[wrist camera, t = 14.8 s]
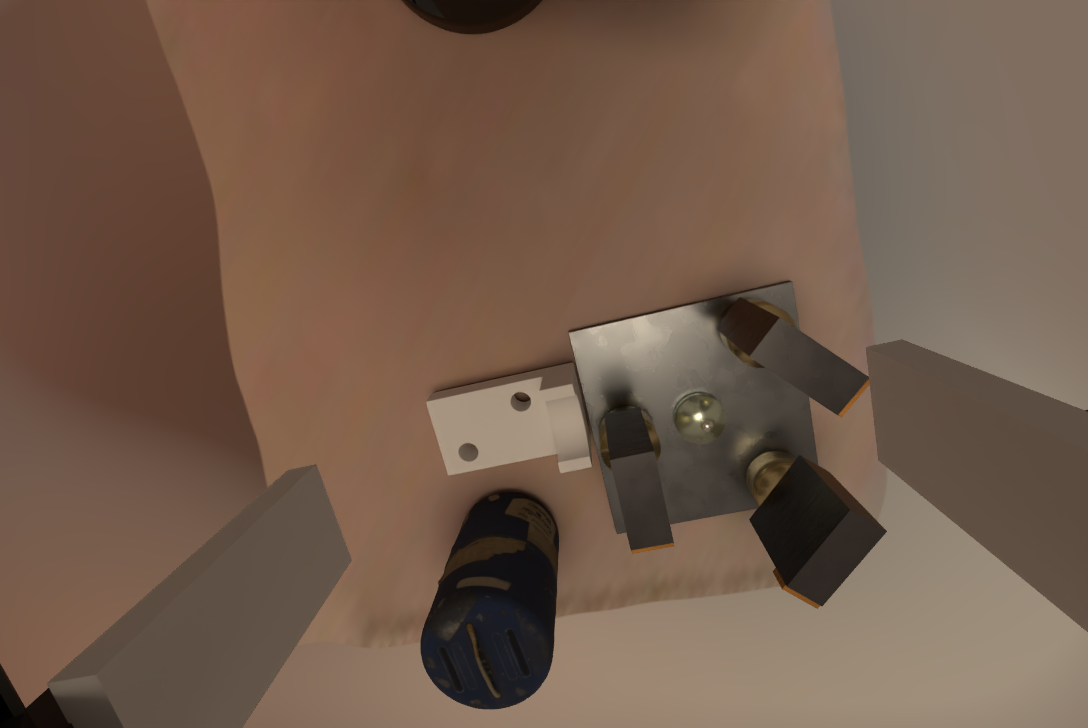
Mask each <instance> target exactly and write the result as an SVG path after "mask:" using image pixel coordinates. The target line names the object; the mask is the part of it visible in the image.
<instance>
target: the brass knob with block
mask: <svg viewBox="0 0 1088 728" xmlns="http://www.w3.org/2000/svg"><path fill="white" fill-rule="evenodd" d="M746 484H747V487H748V489H749V490H750V492H751V494H752V495H753V497H754V498H755V500H756V502H757V503H758V505H759V508H758V509H757V510H756V512H755V513H754V514H753V515H752V517H751V518H750V519H749V520H750V522H751V524H752V525H753V527H754V529H755V531H756V533H757V534H758V536H759V538H760V540H761V542H762V543H763V545H764V547H765V549H766V551H767V552H768V554H769V556H770V558H771V560H772V561H773V563H774V565H775V567H776V568H775V570H774V571H773V573H774V575H775V577H776V579H777V580H778V582H779V584H780V586H781V588H782V589H783V590H785V591H787V592H789V593H790V594H792V595H794V596H796V597H797V598H799V599H801V600H803V601H805V602H806V603H808V604H810V605H812V606H814V607H815V608H818V607H819V606H823V605H824V604H825V603H826V601H827V600H828V599H829V598H830V597H831V596H832V594H833V593H834V592H835V591H836V590H837V589H838V588H839V586H840V585H841V584H842V583H843V582H844V581H845V579H846V578H847V577H848V576H849V575H850V574H851V572H852V571H853V570H854V569H855V568H856V566H857V565H858V564H859V563H860V562H861V561H862V560H863V559H864V557H865V556H866V555H867V554H868V553H869V552H870V550H871V549H872V548H873V547H874V546H875V545H876V543H877V542H878V541H879V540H880V539H881V538H882V537H883V535H884V534H885V533H886V532H887V531H886V530H885V529H884V528H883V527H882V526H881V525H880V524H879V523H878V522H877V521H876V520H875V518H874V517H873V516H872V515H871V514H870V513H869V512H868V511H867V510H866V509H865V508H864V507H863V506H862V505H861V504H860V503H859V502H858V501H857V500H856V499H855V498H854V497H853V496H852V495H851V494H850V493H849V492H848V491H847V490H846V489H845V488H844V487H843V486H842V485H841V483H840V482H839V481H838V480H837V479H836V478H835V477H834V476H833V475H832V474H831V473H830V472H828V471H827V470H825V469H823V468H821V467H820V466H818V465H816V464H815V463H813V462H811V461H809V460H808V459H806V458H804V457H803V456H801V455H799V456H798V457H797V459H796V458H795V457H794V456H792V455H791V454H789V453H786V452H782V451H770V452H766V453H764V454H762V455H760V456H758V457H757V458H755V459H754V460H753V461H752V463H751V464H750V465H749V467H748V469H747V472H746Z"/></svg>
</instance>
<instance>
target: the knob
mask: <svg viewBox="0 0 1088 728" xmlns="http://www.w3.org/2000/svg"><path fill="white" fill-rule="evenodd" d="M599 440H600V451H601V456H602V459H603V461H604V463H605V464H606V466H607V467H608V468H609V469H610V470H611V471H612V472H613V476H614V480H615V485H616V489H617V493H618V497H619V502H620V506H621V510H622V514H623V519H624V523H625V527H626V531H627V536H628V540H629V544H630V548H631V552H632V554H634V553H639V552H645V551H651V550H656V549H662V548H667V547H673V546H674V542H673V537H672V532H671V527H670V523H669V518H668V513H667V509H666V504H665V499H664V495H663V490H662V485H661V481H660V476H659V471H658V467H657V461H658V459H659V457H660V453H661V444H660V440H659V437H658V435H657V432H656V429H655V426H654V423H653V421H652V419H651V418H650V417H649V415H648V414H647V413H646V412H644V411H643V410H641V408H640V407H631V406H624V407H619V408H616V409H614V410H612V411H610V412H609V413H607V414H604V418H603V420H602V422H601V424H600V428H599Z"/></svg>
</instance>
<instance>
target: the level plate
mask: <svg viewBox="0 0 1088 728" xmlns="http://www.w3.org/2000/svg"><path fill="white" fill-rule="evenodd" d="M739 297H741V298H743V299H750V298H755V299H761V300H764V301H766V302H768V303H770V304H773V305H775V306H777V307H779V308H781V309H783V310H785V311H786V312H787V313H788V314H789V315H790V316H791V317H792V319H793V320H794V322H795V325H796V328H797V329H798V330H799V324H798V317H797V310H796V303H795V296H794V289H793V282H792V281H785V282H781V283H776V284H772V285H768V286H763V287H759V288H755V289H750V290H746V291H742V292H737V293H733V294H729V295H724V296H720V297H715V298H711V299H707V300H702V301H698V302H694V303H689V304H685V305H681V306H676V307H672V308H668V309H663V310H659V311H654V312H650V313H646V314H641V315H637V316H633V317H628V318H624V319H620V320H615V321H611V322H607V323H602V324H598V325H593V326H589V327H585V328H580V329H576V330H572V331H569V336H570V340H571V344H572V348H573V352H574V357H575V361H576V365H577V369H578V373H579V377H580V382H581V386H582V390H583V394H584V398H585V402H586V407H587V411H588V415H589V419H590V423H591V428H592V432H593V436H594V440H595V444H596V448H597V453H598V457H599V461H600V465H601V469H602V473H603V478H604V482H605V486H606V490H607V494H608V498H609V503H610V507H611V511H612V515H613V519H614V524H615V528H616V532H617V534H621V533H626V532H627V531H626V527H625V523H624V519H623V514H622V510H621V506H620V502H619V497H618V493H617V489H616V485H615V480H614V476H613V472H612V471H611V470H610V469H609V468H608V467H607V466H606V464H605V463H604V461H603V459H602V456H601V451H600V440H599V428H600V424H601V422H602V420H603V418H604V414H607V413H609V412H610V411H612V410H614V409H616V408H619V407H624V406H631V407H640V408H641V410H643V411H644V412H646V413H647V414H648V415H649V417H650V418H651V419H652V421H653V423H654V426H655V429H656V432H657V435H658V437H659V440H660V444H661V453H660V457H659V459H658V461H657V467H658V471H659V476H660V481H661V485H662V490H663V495H664V499H665V504H666V509H667V513H668V518H669V523H670V524H675V523H680V522H685V521H691V520H696V519H702V518H707V517H712V516H718V515H723V514H729V513H734V512H739V511H745V510H750V509H756V508H759V505H758V503H757V502H756V500H755V498H754V497H753V495H752V494H751V492H750V490H749V489H748V487H747V484H746V472H747V469H748V467H749V465H750V464H751V463H752V461H753V460H754V459H755V458H757V457H758V456H760V455H762V454H764V453H766V452H770V451H782V452H786V453H789V454H791V455H792V456H794V457H795V458H796V459H797V457H798V456H799V455H801V456H803V457H804V458H806V459H808V460H809V461H811V462H813V463H815V464H816V465H818V461H817V454H816V446H815V439H814V432H813V425H812V418H811V411H810V403H809V396H808V395H806V394H805V393H803V392H802V391H800V390H799V389H797V388H796V387H794V386H793V385H791V384H790V383H788V382H787V381H785V380H784V379H782V378H781V377H779V376H778V375H776V374H775V373H773V372H772V371H770V370H768V369H767V368H755V367H751V366H749V365H747V364H745V363H743V362H742V361H741V360H740V359H739V358H738V357H736V356H735V355H734V354H733V353H732V352H731V351H730V350H729V349H728V348H727V347H726V346H725V345H724V343H723V341H722V338H721V335H720V332H719V331H718V330H717V329H716V328H717V327H718V325H719V324H720V323H721V321H722V318H723V316H724V314H725V313H726V312H727V310H728V309H729V308H730V307H731V306H733V305H734V304H735V302H736V301H737V300H738V298H739Z"/></svg>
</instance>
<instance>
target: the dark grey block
mask: <svg viewBox="0 0 1088 728" xmlns="http://www.w3.org/2000/svg"><path fill="white" fill-rule="evenodd" d="M716 329H717V330H718V331H719V332H720V335H721V338H722V341H723V343H724V345H725V346H726V347H727V348H728V349H729V350H730V351H731V352H732V353H733V354H734V355H735V356H736V357H738V358H739V359H740V360H741V361H742V362H743V363H745V364H747V365H749V366H751V367H755V368H767V369H768V370H770V371H772V372H773V373H775V374H776V375H778V376H779V377H781V378H782V379H784V380H785V381H787V382H788V383H790V384H791V385H793V386H794V387H796V388H797V389H799V390H800V391H802V392H803V393H805V394H806V395H808V396H809V397H811V398H812V399H814V400H815V401H817V402H818V403H820V404H821V405H823V406H825V407H826V408H828V409H829V410H831V411H832V412H834V413H835V414H837V415H838V416H840V417H841V418H842V416H843V415H844V414H845V413H846V412H847V410H848V409H849V408H850V407H851V406H852V405H853V403H854V402H855V401H856V400H857V399H858V398H859V396H860V395H861V394H862V393H863V392H864V390H865V389H866V388H867V387H868V386H869V385H870V380H869V377H868V376H866V375H865V374H863V373H862V372H860V371H859V370H857V369H856V368H854V367H853V366H851V365H850V364H849V363H847V362H846V361H844V360H843V359H841V358H840V357H838V356H837V355H835V354H834V353H832V352H831V351H829V350H828V349H826V348H825V347H823V346H822V345H820V344H819V343H817V342H816V341H814V340H813V339H811V338H810V337H808V336H807V335H805V334H804V333H802V332H801V331H799V330H798V329H797V328H796V325H795V322H794V320H793V319H792V317H791V316H790V315H789V314H788V313H787V312H786V311H785V310H783V309H781V308H779V307H777V306H775V305H773V304H770V303H768V302H766V301H764V300H761V299H755V298H750V299H743V298H741V297H739V298H738V300H737V301H736V302H735V304H734V305H733V306H731V307H730V308H729V309H728V310H727V312H726V313H725V314H724V316H723V318H722V321H721V323H720V324H719V325H718V327H717V328H716Z"/></svg>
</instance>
